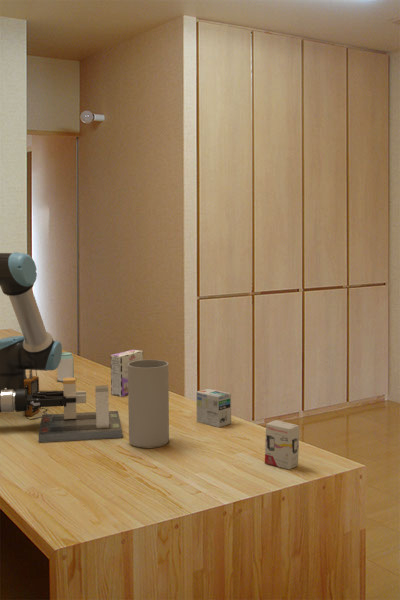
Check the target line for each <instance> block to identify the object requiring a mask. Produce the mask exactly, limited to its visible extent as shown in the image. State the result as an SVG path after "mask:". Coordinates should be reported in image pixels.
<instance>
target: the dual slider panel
mask: <svg viewBox="0 0 400 600" xmlns="http://www.w3.org/2000/svg"><path fill="white" fill-rule="evenodd" d="M109 404H110V403H109V385H108V384H107V385H106V384H102V385H95V411H91V412H89V411H87V412H76V419H64V413H51V414H50V413H48V414H42V415H41V416H42V418H41V421H40V425H39V431H38V443H39V444H40V443H53V442H54V443H55V442H57V443H58V442H71V441H73V442H74V441H88V440H103V439H104V440H107V439H110V440H111V439H122V438H123V427H122V425H121V417H120V415H119V411H118V410H111V411H110V407H109Z"/></svg>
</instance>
